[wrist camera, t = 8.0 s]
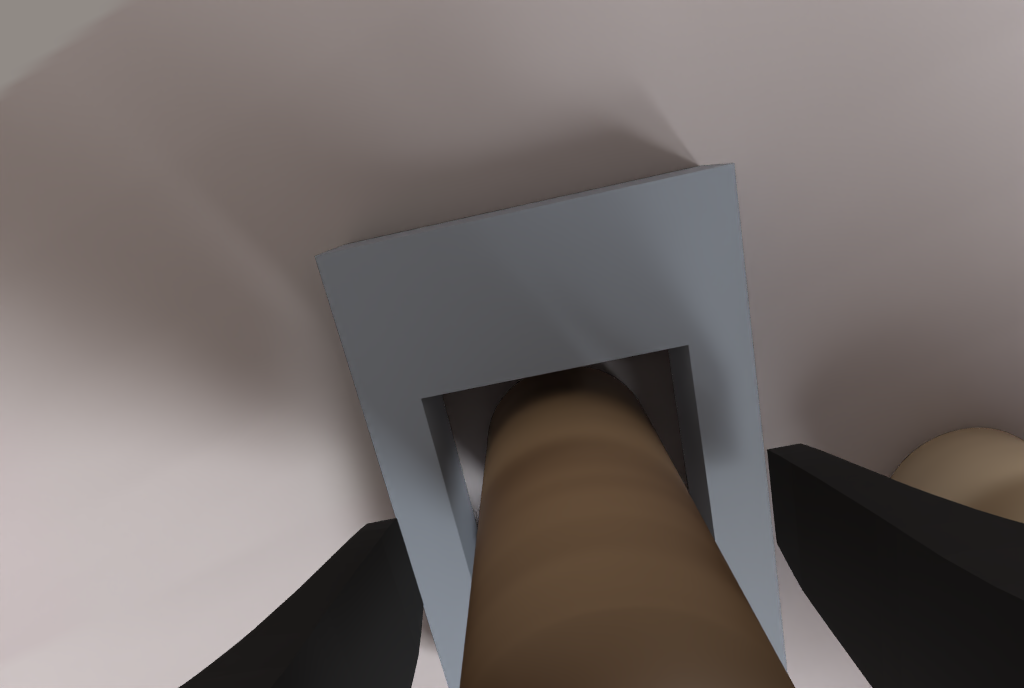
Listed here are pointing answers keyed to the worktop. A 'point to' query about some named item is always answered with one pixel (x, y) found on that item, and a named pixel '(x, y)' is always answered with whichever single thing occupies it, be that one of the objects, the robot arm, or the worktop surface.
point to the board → (558, 356)
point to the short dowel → (971, 470)
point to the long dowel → (599, 555)
